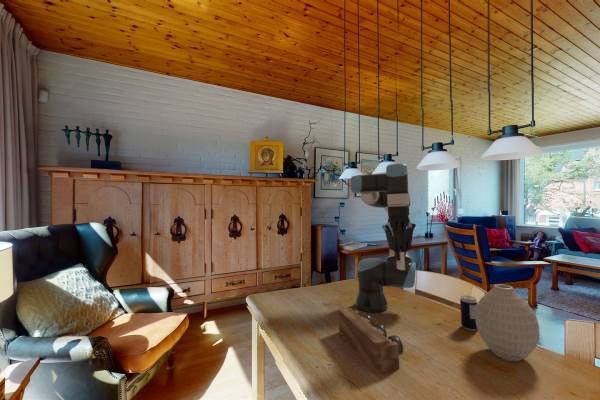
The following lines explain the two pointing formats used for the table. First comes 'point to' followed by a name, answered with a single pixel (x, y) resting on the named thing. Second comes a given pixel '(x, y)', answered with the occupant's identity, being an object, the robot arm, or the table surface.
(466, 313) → the beverage can
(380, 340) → the wooden rack
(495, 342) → the vase
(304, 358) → the table surface
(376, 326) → the knob
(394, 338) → the knob
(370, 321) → the knob
